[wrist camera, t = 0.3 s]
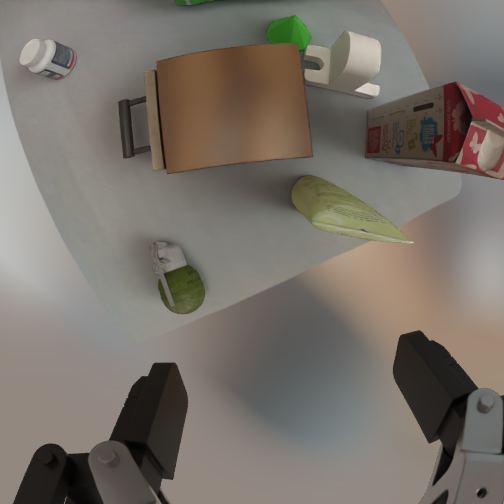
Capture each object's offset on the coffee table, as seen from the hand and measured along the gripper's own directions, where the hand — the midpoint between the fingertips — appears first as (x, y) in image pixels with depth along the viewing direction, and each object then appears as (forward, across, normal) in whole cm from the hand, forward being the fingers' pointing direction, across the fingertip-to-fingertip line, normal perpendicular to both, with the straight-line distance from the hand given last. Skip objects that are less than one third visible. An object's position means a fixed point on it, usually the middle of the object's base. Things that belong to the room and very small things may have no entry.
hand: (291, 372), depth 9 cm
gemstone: (+29, -6, -24) cm, 38 cm away
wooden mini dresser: (+28, +2, -13) cm, 31 cm away
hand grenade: (+24, +10, +11) cm, 29 cm away
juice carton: (+29, -18, -9) cm, 35 cm away
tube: (+29, -6, -2) cm, 29 cm away
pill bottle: (+29, +27, -28) cm, 48 cm away
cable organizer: (+29, -12, -18) cm, 36 cm away
